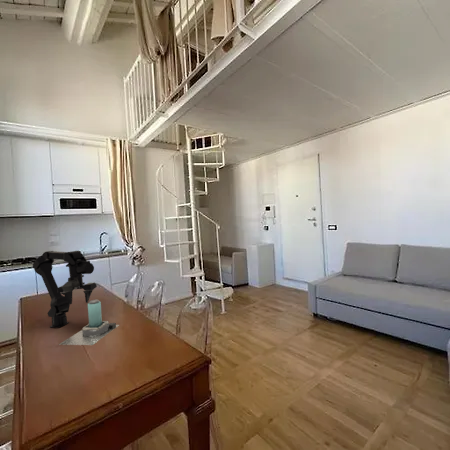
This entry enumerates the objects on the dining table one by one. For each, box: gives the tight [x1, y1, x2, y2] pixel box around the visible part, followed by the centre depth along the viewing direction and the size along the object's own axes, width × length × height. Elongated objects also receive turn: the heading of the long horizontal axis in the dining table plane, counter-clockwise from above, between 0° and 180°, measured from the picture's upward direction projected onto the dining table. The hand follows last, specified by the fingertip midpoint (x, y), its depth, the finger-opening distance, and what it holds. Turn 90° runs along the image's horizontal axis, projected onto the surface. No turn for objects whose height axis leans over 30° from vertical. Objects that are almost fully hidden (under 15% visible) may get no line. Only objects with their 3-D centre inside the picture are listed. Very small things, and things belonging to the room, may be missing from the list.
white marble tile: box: [58, 320, 120, 346], centre depth 127 cm, size 17×22×5 cm
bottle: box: [87, 299, 103, 328], centre depth 130 cm, size 6×6×13 cm
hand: (78, 303), depth 139 cm, fingers open, 9 cm apart
